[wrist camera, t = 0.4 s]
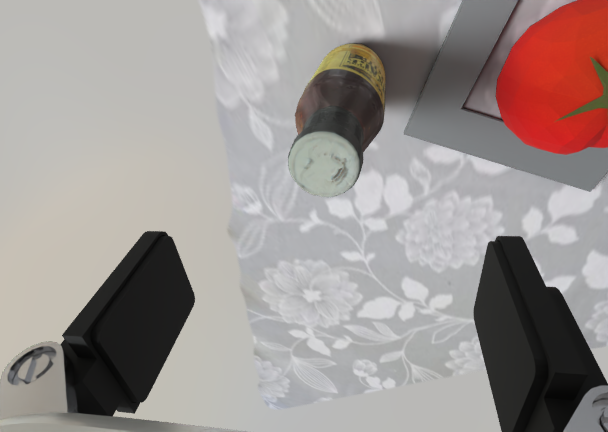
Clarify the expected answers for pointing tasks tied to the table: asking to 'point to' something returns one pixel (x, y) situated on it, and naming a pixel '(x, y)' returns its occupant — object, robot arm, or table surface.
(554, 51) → the tomato
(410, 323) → the table surface
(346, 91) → the sauce bottle
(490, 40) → the gray picture frame
